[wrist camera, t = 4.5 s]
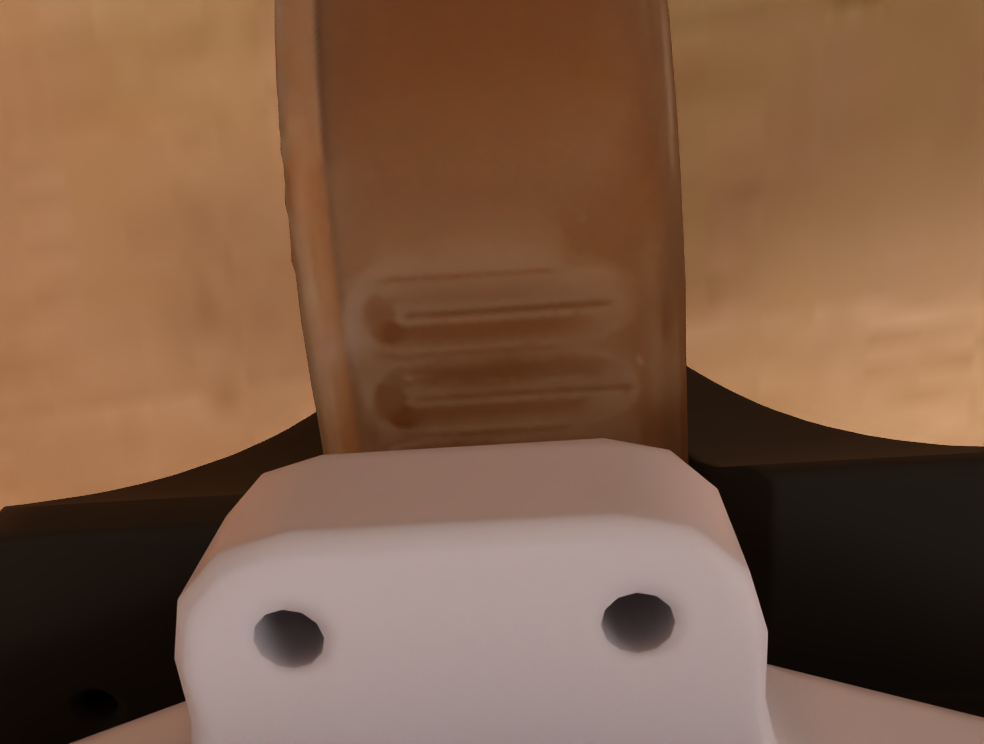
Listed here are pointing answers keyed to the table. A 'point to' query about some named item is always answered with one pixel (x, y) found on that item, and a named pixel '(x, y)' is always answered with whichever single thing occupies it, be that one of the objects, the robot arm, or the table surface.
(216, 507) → the robot arm
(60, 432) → the table surface
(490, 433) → the tin
